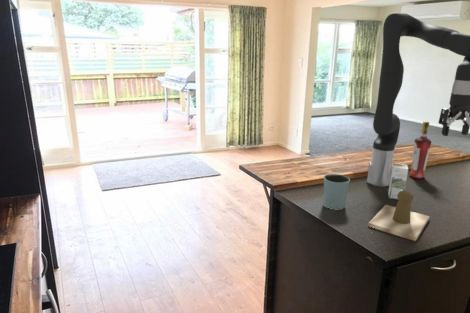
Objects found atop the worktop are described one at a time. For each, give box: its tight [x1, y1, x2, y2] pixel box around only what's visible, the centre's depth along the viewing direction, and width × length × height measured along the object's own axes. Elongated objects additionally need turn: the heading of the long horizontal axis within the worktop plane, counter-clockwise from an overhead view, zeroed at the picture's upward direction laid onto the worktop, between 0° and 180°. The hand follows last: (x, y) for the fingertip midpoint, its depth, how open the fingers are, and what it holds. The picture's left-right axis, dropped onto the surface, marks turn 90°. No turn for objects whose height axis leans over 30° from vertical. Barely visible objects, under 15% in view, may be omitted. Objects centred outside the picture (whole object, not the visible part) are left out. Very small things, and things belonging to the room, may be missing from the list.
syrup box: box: [387, 162, 409, 201], centre depth 155 cm, size 6×6×14 cm
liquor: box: [409, 121, 432, 180], centre depth 177 cm, size 7×7×28 cm
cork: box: [393, 191, 414, 224], centre depth 132 cm, size 6×6×11 cm
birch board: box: [367, 204, 430, 242], centre depth 134 cm, size 16×20×2 cm
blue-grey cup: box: [322, 173, 351, 210], centre depth 146 cm, size 10×10×12 cm
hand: (454, 135), depth 139 cm, fingers open, 8 cm apart
